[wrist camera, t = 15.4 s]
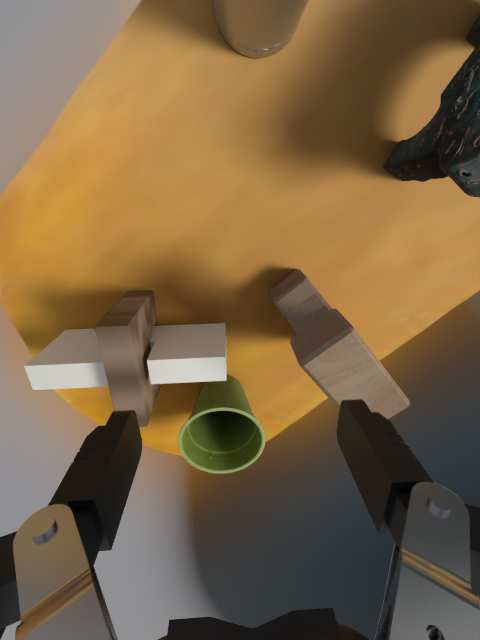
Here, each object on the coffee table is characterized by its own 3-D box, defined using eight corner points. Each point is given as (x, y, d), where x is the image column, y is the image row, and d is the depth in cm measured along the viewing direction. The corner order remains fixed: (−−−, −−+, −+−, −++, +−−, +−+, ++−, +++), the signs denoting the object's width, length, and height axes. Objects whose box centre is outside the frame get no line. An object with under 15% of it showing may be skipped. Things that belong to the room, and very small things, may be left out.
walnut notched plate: (128, 291, 42) (94, 327, 31) (152, 290, 42) (127, 325, 31) (143, 373, 48) (119, 427, 37) (164, 372, 48) (147, 426, 37)
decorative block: (267, 290, 43) (297, 364, 25) (298, 266, 42) (355, 325, 24) (308, 341, 47) (361, 437, 29) (338, 320, 46) (414, 407, 27)
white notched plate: (65, 329, 44) (24, 366, 35) (225, 322, 45) (225, 356, 36) (71, 349, 46) (33, 389, 37) (226, 343, 46) (226, 380, 37)
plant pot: (256, 417, 53) (263, 472, 43) (189, 418, 52) (181, 475, 42) (258, 360, 48) (267, 407, 38) (185, 361, 48) (174, 409, 37)
